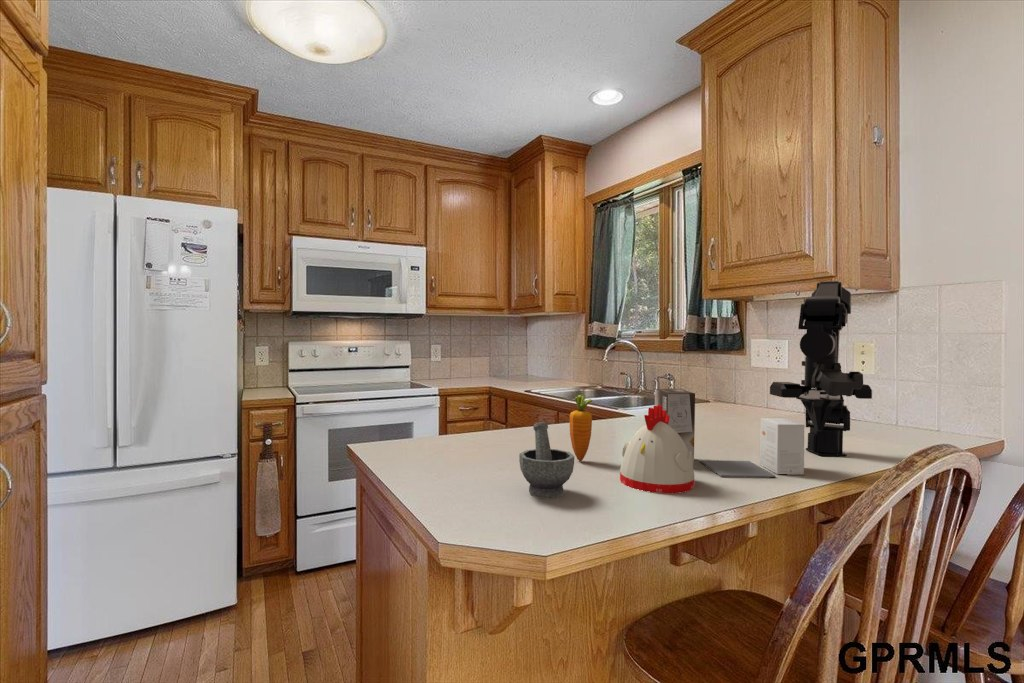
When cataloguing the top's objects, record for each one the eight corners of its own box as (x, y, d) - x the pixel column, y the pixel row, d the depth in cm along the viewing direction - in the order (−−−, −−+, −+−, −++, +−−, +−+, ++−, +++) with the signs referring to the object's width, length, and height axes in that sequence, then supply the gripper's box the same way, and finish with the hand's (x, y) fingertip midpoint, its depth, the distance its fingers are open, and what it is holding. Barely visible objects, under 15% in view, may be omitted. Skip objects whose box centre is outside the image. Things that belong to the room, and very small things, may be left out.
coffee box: (695, 467, 113) (696, 393, 112) (666, 467, 112) (667, 392, 112) (679, 456, 122) (680, 388, 122) (652, 456, 122) (653, 388, 121)
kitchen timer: (606, 481, 101) (607, 404, 101) (643, 469, 111) (644, 398, 111) (672, 498, 91) (674, 413, 91) (706, 483, 101) (708, 406, 101)
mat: (749, 462, 117) (749, 460, 117) (775, 477, 105) (775, 475, 105) (699, 462, 117) (699, 460, 117) (720, 477, 105) (720, 475, 105)
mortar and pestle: (579, 500, 90) (580, 431, 89) (526, 503, 88) (527, 432, 88) (561, 481, 101) (562, 419, 101) (514, 483, 99) (515, 420, 99)
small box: (804, 475, 107) (805, 424, 107) (776, 475, 107) (778, 424, 107) (784, 465, 115) (785, 417, 115) (759, 465, 115) (760, 417, 115)
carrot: (579, 457, 120) (580, 392, 120) (596, 462, 116) (597, 394, 116) (564, 460, 117) (565, 394, 116) (580, 465, 113) (581, 396, 113)
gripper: (796, 359, 102) (794, 438, 103) (892, 360, 102) (890, 439, 103) (769, 356, 114) (767, 427, 114) (855, 357, 113) (853, 428, 114)
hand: (818, 430), depth 111 cm, fingers closed
